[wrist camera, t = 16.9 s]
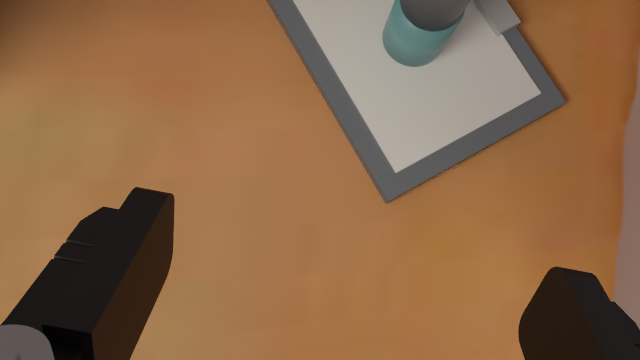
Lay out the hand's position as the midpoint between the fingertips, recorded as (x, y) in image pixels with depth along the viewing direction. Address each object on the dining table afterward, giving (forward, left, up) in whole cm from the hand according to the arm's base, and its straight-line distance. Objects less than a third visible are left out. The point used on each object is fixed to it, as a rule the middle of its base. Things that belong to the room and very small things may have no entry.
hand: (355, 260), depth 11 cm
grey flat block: (-12, +16, -25) cm, 32 cm away
